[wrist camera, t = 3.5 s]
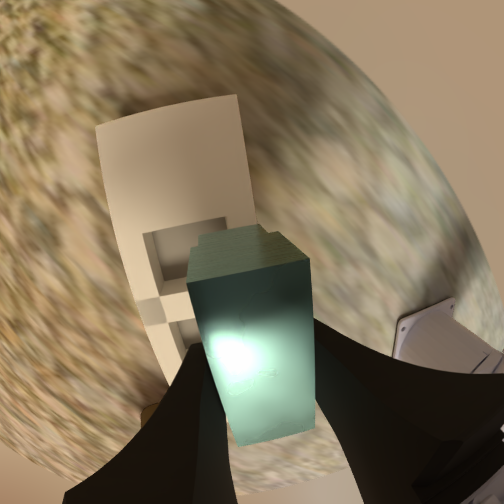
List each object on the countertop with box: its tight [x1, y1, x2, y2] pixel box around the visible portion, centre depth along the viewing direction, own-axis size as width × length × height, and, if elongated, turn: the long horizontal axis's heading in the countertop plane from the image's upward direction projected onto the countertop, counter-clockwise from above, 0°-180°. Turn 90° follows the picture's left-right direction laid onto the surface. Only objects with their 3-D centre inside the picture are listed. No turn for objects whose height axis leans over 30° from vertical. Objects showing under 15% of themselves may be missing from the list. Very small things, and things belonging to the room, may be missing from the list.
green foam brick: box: [186, 224, 315, 447], centre depth 10 cm, size 7×3×6 cm, turn 9°
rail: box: [95, 94, 257, 422], centre depth 16 cm, size 20×7×4 cm, turn 9°
